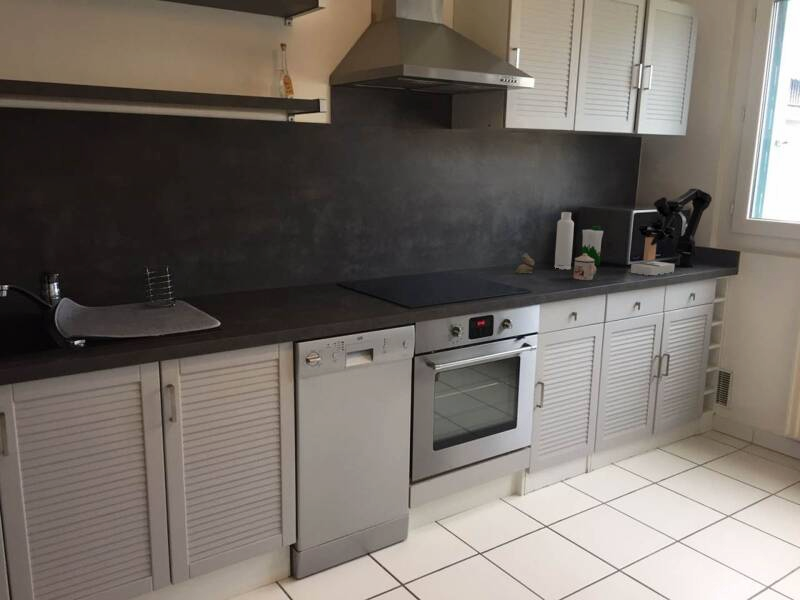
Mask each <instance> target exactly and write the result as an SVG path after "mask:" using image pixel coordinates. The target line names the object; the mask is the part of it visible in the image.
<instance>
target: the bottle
mask: <svg viewBox="0 0 800 600" xmlns="http://www.w3.org/2000/svg"><path fill="white" fill-rule="evenodd" d="M560 215H561V216H560V219H559V220H558V221H557V223H556V224H557V226H556V241H555V253H554V254H555V255H554V256H555V257H554V267H555V268H554V269H556V268H559V269H558V270H564V269H566V270H571V269H572V257H573V256H572V255H573V246H574V245H573V242H574V227H575V223H574V221H573V220H572V212H570V211H562V212H561V214H560Z"/></svg>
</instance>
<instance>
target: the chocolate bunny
mask: <svg viewBox="0 0 800 600" xmlns="http://www.w3.org/2000/svg"><path fill="white" fill-rule="evenodd" d="M521 259H522V260H523V263H522V264H520V265H518V267H517V269H516V271H515V273H516V272H517V273H516V274H518V273H532V274H533V272H532V271H533V270H534V266H535V261H534V259H533V258H531V257H530V256H529V254H528V253H527V252H525V253H524V254H523V255H521Z"/></svg>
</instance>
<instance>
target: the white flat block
mask: <svg viewBox="0 0 800 600" xmlns="http://www.w3.org/2000/svg"><path fill="white" fill-rule="evenodd" d="M675 264H676V263H669V262H662V261H654V260H651V261H647V262H646V261H645V262H638V263H633V264H631V266H630V273H632V274H636V273H637V274H638V275H642V274H644V275H643V276H648V275H654V276H659V275H658V274H660V275H665V274H664V273H666V274H671V273H670V272H672V273H674V272H675V266H676V265H675ZM637 274H636V275H637Z"/></svg>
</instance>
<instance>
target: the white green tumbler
mask: <svg viewBox="0 0 800 600" xmlns="http://www.w3.org/2000/svg"><path fill="white" fill-rule="evenodd" d="M591 228H592V229H582V244H581V245H582V248H581V256H583V254H584V253H585V254H587V256H589V257H590V258H592V259H594V260H595V262H594V265H596V266H600V265H601V251H602V249H601V247H602V238H603V234H604V230H601V226H599V225H593V226H592V227H591Z"/></svg>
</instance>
